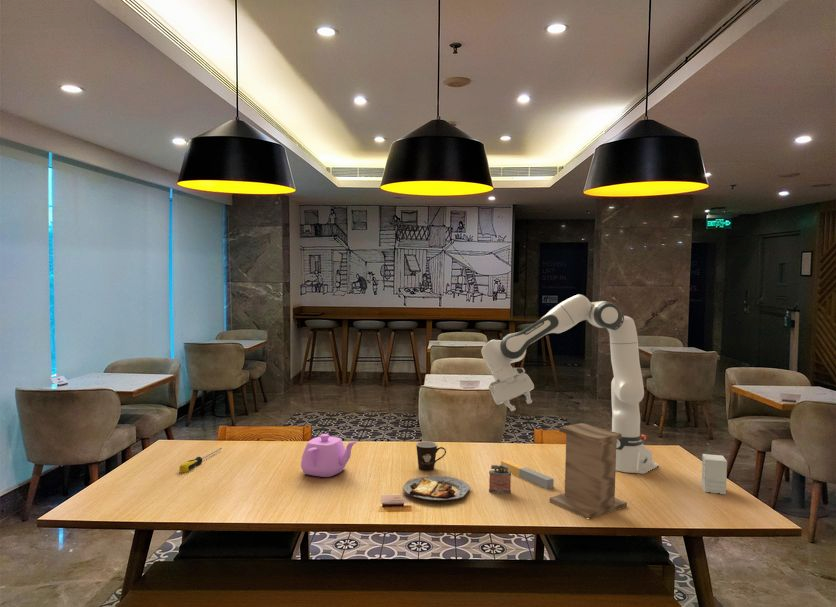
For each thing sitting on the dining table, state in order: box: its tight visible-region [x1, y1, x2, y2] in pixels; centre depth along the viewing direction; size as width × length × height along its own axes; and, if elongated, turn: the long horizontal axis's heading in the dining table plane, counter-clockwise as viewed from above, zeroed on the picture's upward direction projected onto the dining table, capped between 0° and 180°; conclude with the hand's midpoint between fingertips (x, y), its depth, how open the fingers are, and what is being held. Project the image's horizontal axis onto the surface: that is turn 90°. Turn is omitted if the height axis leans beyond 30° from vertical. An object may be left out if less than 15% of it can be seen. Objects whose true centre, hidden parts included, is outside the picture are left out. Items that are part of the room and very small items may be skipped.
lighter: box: [488, 464, 512, 495], centre depth 206 cm, size 8×3×10 cm, turn 84°
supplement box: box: [701, 453, 728, 495], centre depth 211 cm, size 7×7×13 cm
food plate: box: [402, 475, 471, 502], centre depth 205 cm, size 25×23×4 cm
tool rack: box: [549, 422, 628, 519], centre depth 196 cm, size 20×17×26 cm
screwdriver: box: [179, 447, 223, 474], centre depth 236 cm, size 3×3×30 cm
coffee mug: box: [415, 440, 447, 472], centre depth 230 cm, size 12×9×10 cm
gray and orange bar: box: [500, 459, 555, 490], centre depth 222 cm, size 3×26×3 cm, turn 33°
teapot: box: [300, 433, 358, 478], centre depth 222 cm, size 23×21×15 cm
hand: (522, 406), depth 229 cm, fingers open, 8 cm apart
